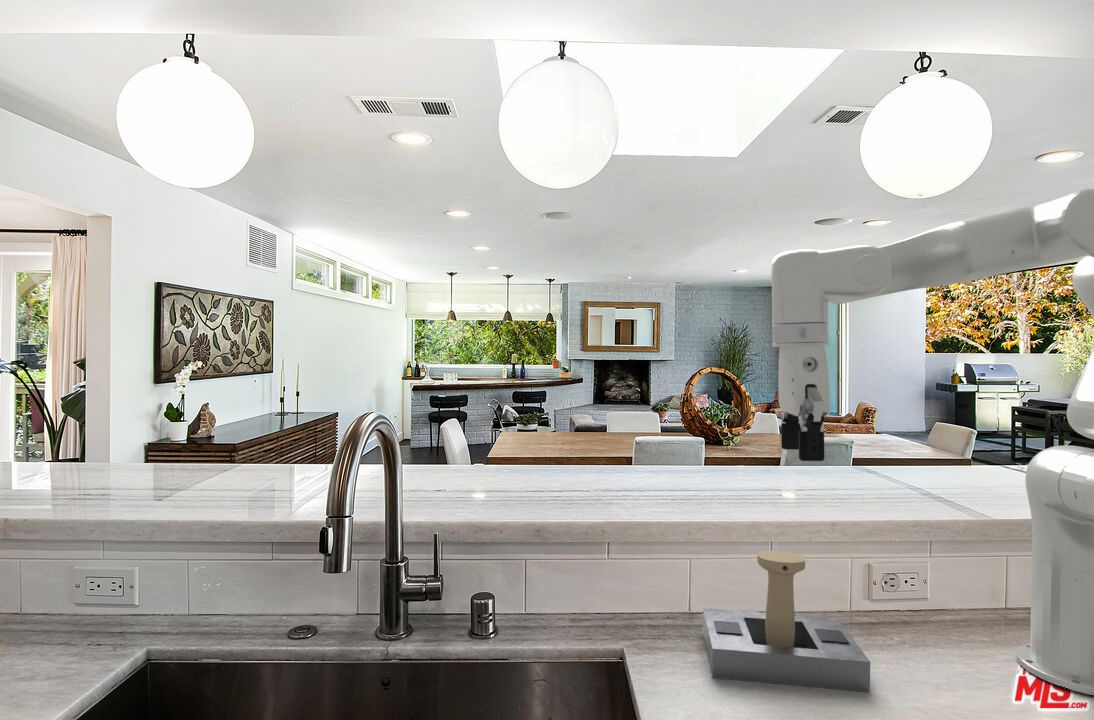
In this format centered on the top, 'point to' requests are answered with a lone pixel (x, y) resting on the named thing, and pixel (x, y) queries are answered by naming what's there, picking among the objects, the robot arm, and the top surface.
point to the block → (784, 652)
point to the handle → (780, 595)
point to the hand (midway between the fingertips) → (801, 454)
